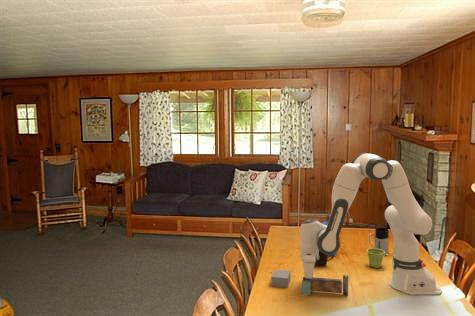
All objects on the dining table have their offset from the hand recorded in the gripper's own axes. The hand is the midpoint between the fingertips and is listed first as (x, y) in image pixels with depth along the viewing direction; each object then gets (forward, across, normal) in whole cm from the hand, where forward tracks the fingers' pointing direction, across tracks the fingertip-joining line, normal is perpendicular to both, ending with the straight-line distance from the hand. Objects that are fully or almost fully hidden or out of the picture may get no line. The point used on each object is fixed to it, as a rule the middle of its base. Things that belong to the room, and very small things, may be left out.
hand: (309, 280), depth 187 cm
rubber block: (+4, -3, -14) cm, 15 cm away
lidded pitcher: (+4, -56, +39) cm, 69 cm away
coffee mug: (+4, -30, +6) cm, 31 cm away
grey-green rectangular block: (+4, +7, -1) cm, 8 cm away
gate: (+3, +5, +6) cm, 8 cm away
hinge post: (+4, +5, +17) cm, 18 cm away
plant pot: (+4, -35, +35) cm, 50 cm away
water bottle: (+4, -50, +10) cm, 51 cm away
